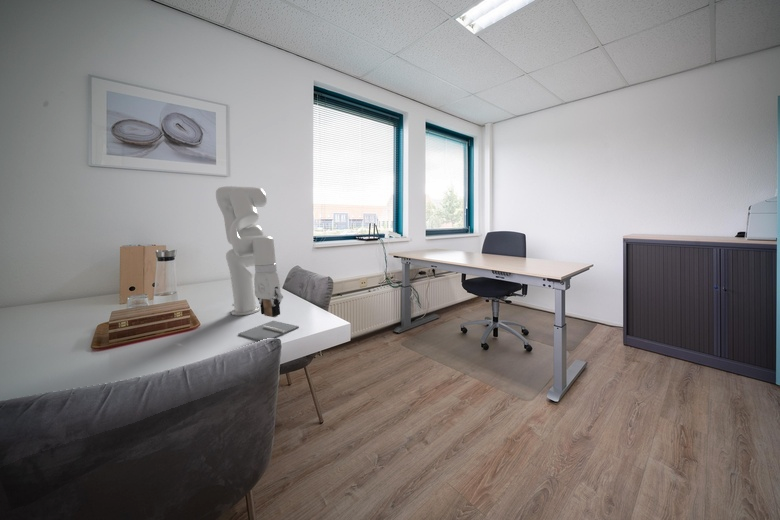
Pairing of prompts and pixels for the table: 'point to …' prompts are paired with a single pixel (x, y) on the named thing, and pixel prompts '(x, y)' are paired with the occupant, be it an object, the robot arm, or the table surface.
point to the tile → (268, 307)
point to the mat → (268, 330)
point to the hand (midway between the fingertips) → (270, 313)
